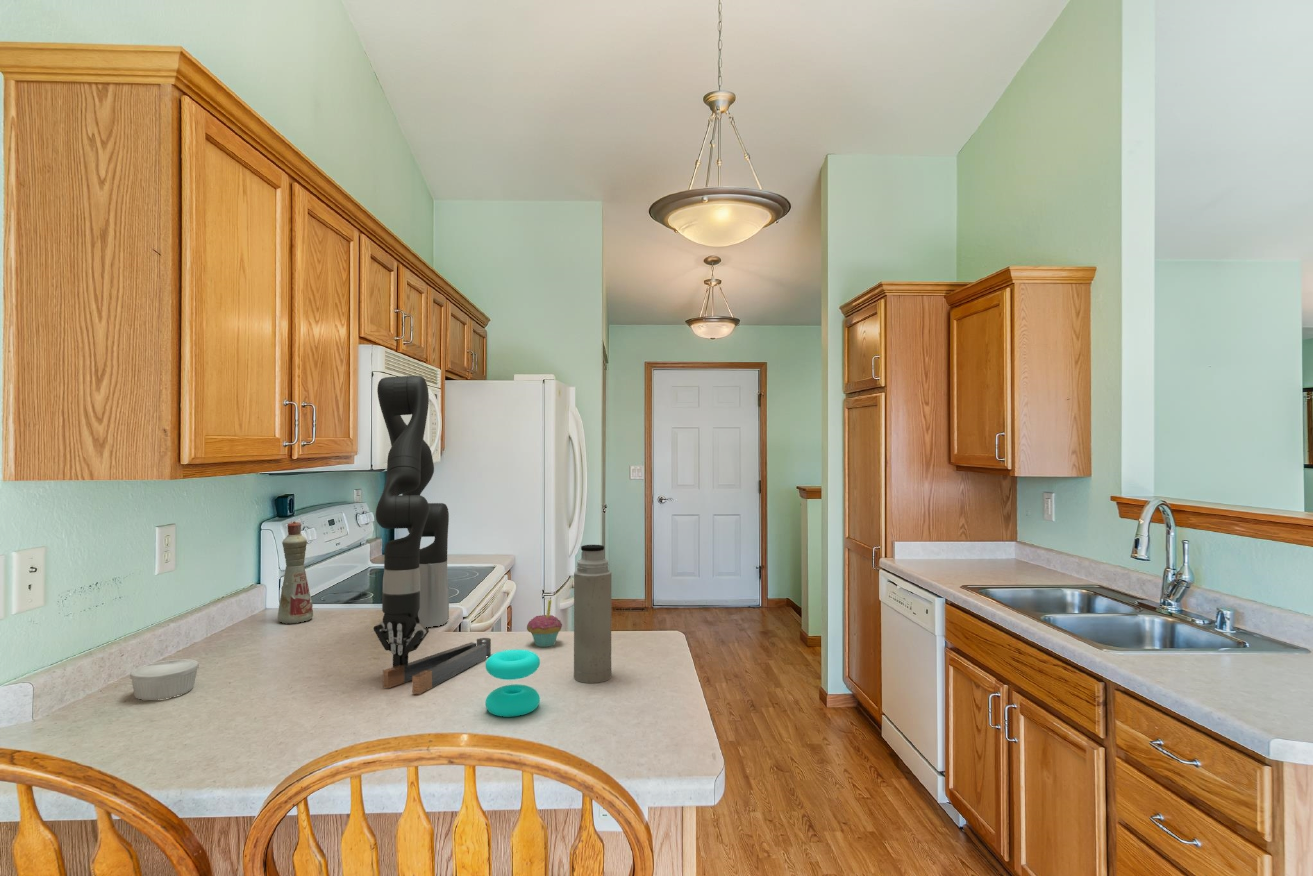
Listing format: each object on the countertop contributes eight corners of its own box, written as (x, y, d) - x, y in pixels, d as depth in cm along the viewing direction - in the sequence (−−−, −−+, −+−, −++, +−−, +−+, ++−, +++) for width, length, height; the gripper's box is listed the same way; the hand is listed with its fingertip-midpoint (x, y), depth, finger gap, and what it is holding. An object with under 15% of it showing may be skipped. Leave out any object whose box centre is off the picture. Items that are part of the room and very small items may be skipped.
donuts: (478, 652, 131) (528, 644, 137) (478, 705, 131) (528, 695, 136) (496, 667, 123) (548, 658, 128) (495, 723, 123) (548, 712, 128)
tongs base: (481, 653, 164) (481, 637, 164) (494, 654, 162) (494, 638, 162) (404, 693, 137) (404, 674, 137) (419, 695, 136) (419, 676, 136)
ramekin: (192, 679, 146) (192, 654, 146) (204, 693, 138) (204, 667, 138) (125, 693, 138) (125, 666, 138) (134, 708, 130) (134, 680, 130)
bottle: (290, 616, 198) (290, 519, 199) (319, 617, 198) (320, 519, 198) (270, 624, 190) (270, 522, 190) (301, 625, 189) (301, 522, 189)
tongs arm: (471, 656, 161) (471, 641, 161) (476, 657, 160) (476, 642, 160) (382, 687, 140) (382, 670, 140) (388, 688, 140) (388, 671, 140)
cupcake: (568, 642, 172) (568, 594, 172) (546, 651, 165) (546, 601, 165) (542, 637, 177) (543, 590, 177) (519, 645, 170) (519, 597, 170)
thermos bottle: (594, 668, 153) (594, 541, 153) (619, 676, 147) (619, 545, 148) (566, 677, 147) (566, 545, 147) (591, 686, 142) (591, 549, 142)
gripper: (438, 588, 148) (437, 669, 148) (388, 583, 152) (387, 662, 152) (415, 595, 141) (414, 680, 141) (363, 590, 145) (362, 673, 145)
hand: (400, 671), depth 146 cm, fingers closed
